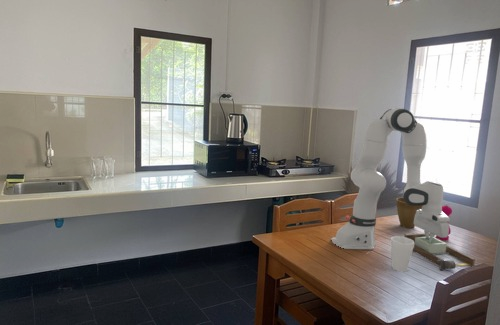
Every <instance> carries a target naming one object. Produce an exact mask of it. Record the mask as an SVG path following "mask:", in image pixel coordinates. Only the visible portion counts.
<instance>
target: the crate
mask: <svg viewBox="0 0 500 325" xmlns="http://www.w3.org/2000/svg"><path fill="white" fill-rule="evenodd" d="M425 238H426V237H415V245H417V246H418V247H420V248H422V249H424V250H426V251H428V252H429V253H431V254H433V255H445V254H447V253H446V245H447V242H444V241H443V240H440V239H437V238H436V237H435V236H434V237H433V240H432V241H429V240H426V239H425ZM447 246H448V245H447Z"/></svg>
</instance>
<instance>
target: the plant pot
mask: <svg viewBox="0 0 500 325" xmlns="http://www.w3.org/2000/svg"><path fill="white" fill-rule="evenodd" d="M418 209H421V210H422V206H410V205H408V204H407V203H406V202H405V201H404V198H403V197H396V210H397V216H398V220H399V224H400V227H403V228H407V229H413V228H414V227H415V226H414V217H415V214H416V211H417V210H418Z"/></svg>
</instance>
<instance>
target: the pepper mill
mask: <svg viewBox="0 0 500 325" xmlns="http://www.w3.org/2000/svg"><path fill="white" fill-rule="evenodd" d="M442 211H443V212H444V213H445V214H446V215H447V216H448V217H449V218H450V219H451V215H452V213H453V208H452V207H451V206H449V203H447V202H445V203H444V205H442ZM449 222H450V220H449V221H448V223H449ZM449 224H450V223H449ZM451 232H452V231H451V227H450V225H449V234H448V236H447V237H445V238H441V237H439V236H436V235H435V238H436V239H438V240H440V241H449V239H450V236H449V235H450V234H451Z"/></svg>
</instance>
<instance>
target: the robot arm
mask: <svg viewBox="0 0 500 325" xmlns="http://www.w3.org/2000/svg"><path fill="white" fill-rule="evenodd" d="M393 131H395V132H399V133H400V134H401V137H402V141H401V142H402V143H401V144H402V145H401V150H402V155H403V159H404V161H405V164H406V168H407V169H406V172H407V173H406V176H407V177H406V184H405V185H404V187H403V188H402V189H403V191H402V195H403V196H402V198H404V201H405V202H406V203H407V204H408V205H410V206H422V210H421V209H418V210H417V211H416V214H415V217H414V227H416V228H419V229H421V230H423V233H425V236H426V238H425V239H426V240H429V241H432V240H433V237H434V238H435V237H436V236H439V237H441V238H445V237H447V236H449V235H450V234H449V226H450V223H448V221H449V222H450V220H451V217H450V218H449V217H448V216H447V215H446V214H445V213H444V212H443V211H442V206H443V205H442V203H443V200H444V186H443V185H442V184H441V183H439V182H438V181H434V180H426V181H425V182H423V183H421V167H422V164H423V161H424V160H425V159H426V158H425V157H426V153H427V143H428V142H427V141H428V140H427V132H426V126H425V125H424V123H422V122H420V121H417V120H416V119H415V116H414V114H413V113H412V111H411V110H410V109H407V108H401V107H395V108H390V109H389V108H388V110H386V111H385V112H384V113H383V114H382V115H381V116H380V118H376V119H372V120H371V121H370V122H369V123H368V125H367V128H366V131H365V135H364V139H363V142H362V143H363V144H362V148H361V151H360V155H359V157H358V160H357V163H356V164H355V167H354V168H353V169H351V172H350V179H351V181H352V183H353V184H354V185H355V186H356V187H358V188H359V190H358V194H357V196H356V198H355V199H354V201H353V209H352V215H351V216H349V215H346V216H345V219H346V220H348V222H347V223H345V224H344V225H343V226H341V227H340V228H338V230H337V232H336V234H335V237H331V240H332V241H331V242H332V243H333V244H334V245H335V244H336V245H335V246H336V247H338V246H339V247H338V248H340V247H341V249H343V248H344V249H343V250H374V248H375V247H376V246H377V243H376V236H375V235H376V234H375V228H376V225H377V217H376V214H377V208H378V207H377V206H378V201H379V198H380V196H381V193H382V192H383V191H384V190H385V189H386V187H387V179H386V178H385V176H384V175H383V174H382V173H381V172H379V171H377V169H378V167H379V166H380V164H381V162H382V161H383V160H384V159H385V154H386V150H387V146H388V142H389V141H388V140H389V136H390V134H391V133H392V132H393ZM429 233H430V236H429ZM448 234H449V235H448Z"/></svg>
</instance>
